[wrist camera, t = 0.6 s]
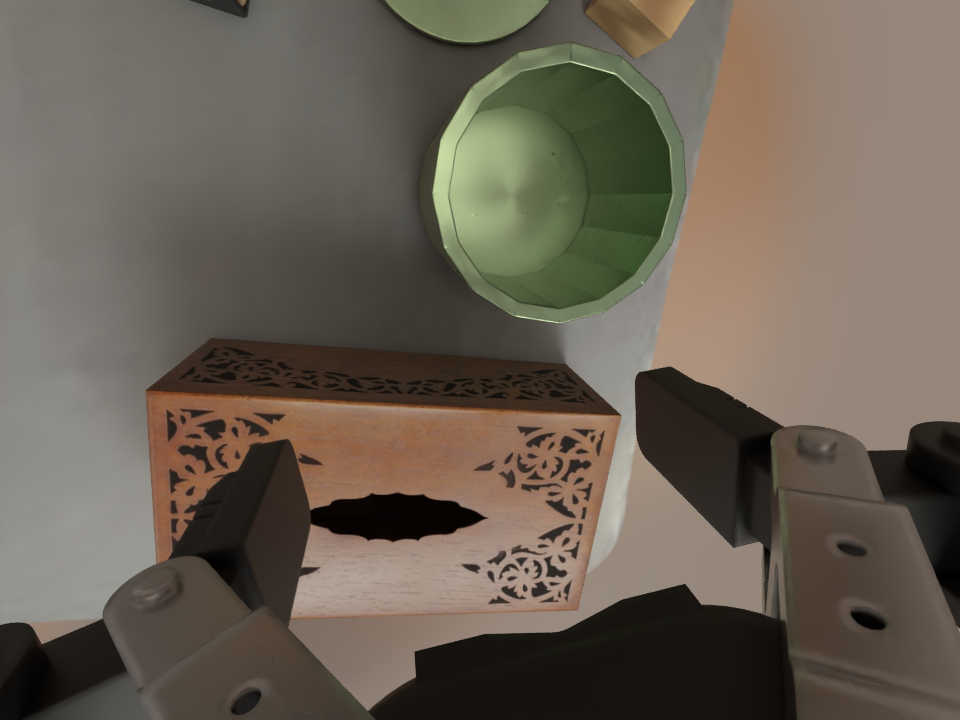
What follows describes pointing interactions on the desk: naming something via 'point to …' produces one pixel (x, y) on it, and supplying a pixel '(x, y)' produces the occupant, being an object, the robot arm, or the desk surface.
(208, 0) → the ammunition clip
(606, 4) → the block
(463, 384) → the tissue box cover
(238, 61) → the desk surface
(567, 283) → the canister
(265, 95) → the desk surface
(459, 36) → the lid
